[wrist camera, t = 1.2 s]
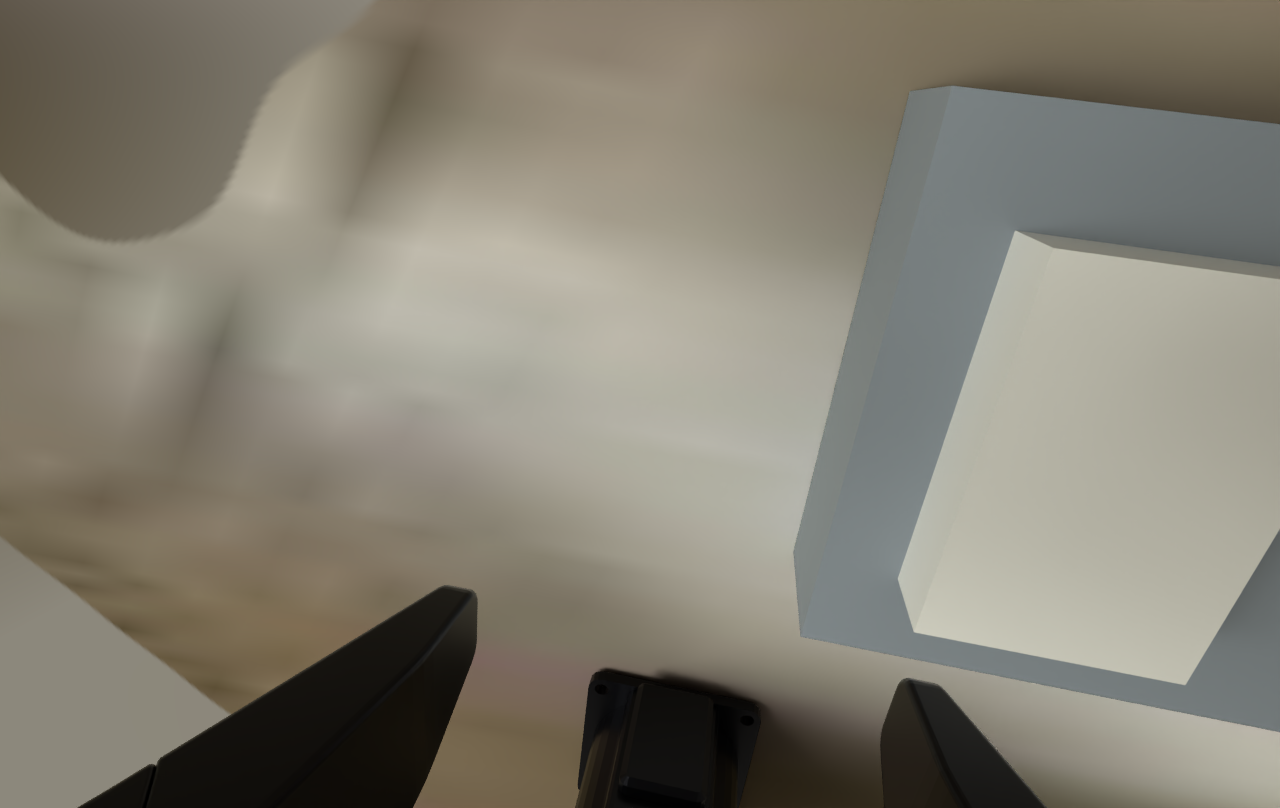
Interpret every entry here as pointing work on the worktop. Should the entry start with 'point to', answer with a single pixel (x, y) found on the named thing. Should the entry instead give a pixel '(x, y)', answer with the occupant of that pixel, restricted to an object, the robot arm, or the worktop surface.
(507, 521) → the worktop surface
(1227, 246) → the light blue flat slab
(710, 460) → the worktop surface
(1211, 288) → the white rectangular block
